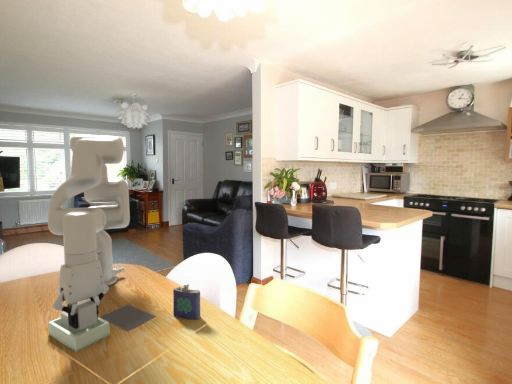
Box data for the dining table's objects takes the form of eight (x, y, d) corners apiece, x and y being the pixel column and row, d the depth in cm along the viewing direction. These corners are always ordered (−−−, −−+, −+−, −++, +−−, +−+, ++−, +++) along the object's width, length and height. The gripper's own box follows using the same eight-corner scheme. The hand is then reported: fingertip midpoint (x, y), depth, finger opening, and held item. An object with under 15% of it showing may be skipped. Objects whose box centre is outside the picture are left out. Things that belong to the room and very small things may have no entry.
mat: (127, 305, 100) (127, 304, 100) (156, 317, 92) (156, 316, 92) (99, 317, 92) (99, 316, 92) (128, 332, 84) (128, 331, 84)
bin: (82, 321, 90) (81, 308, 89) (109, 336, 82) (109, 322, 82) (49, 335, 82) (48, 322, 82) (76, 353, 74) (75, 338, 74)
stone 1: (78, 324, 87) (77, 306, 86) (86, 328, 84) (85, 310, 84) (61, 331, 83) (60, 312, 82) (69, 336, 80) (68, 317, 80)
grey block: (88, 317, 83) (87, 299, 82) (97, 322, 81) (96, 303, 80) (71, 325, 79) (70, 305, 79) (80, 330, 77) (79, 309, 76)
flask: (201, 317, 92) (201, 284, 92) (197, 322, 90) (196, 288, 89) (176, 313, 95) (175, 281, 94) (171, 317, 92) (170, 285, 91)
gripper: (103, 248, 88) (106, 307, 89) (38, 263, 73) (42, 333, 75) (118, 252, 84) (120, 313, 85) (52, 269, 69) (56, 342, 71)
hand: (84, 322), depth 80 cm, fingers closed on grey block, 4 cm apart
